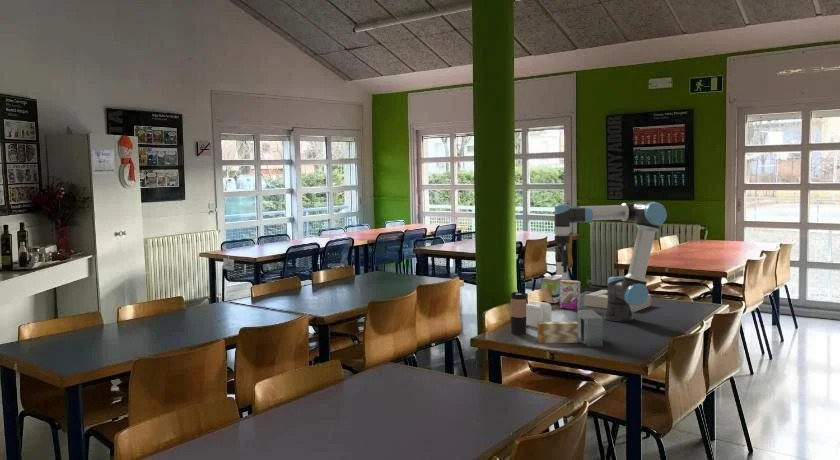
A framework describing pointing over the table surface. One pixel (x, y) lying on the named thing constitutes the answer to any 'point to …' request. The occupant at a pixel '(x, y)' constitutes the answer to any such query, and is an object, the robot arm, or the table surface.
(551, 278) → the tea box
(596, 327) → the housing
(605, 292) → the box
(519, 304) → the travel mug
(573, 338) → the bar
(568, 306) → the candy bar box
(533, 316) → the cable organizer
